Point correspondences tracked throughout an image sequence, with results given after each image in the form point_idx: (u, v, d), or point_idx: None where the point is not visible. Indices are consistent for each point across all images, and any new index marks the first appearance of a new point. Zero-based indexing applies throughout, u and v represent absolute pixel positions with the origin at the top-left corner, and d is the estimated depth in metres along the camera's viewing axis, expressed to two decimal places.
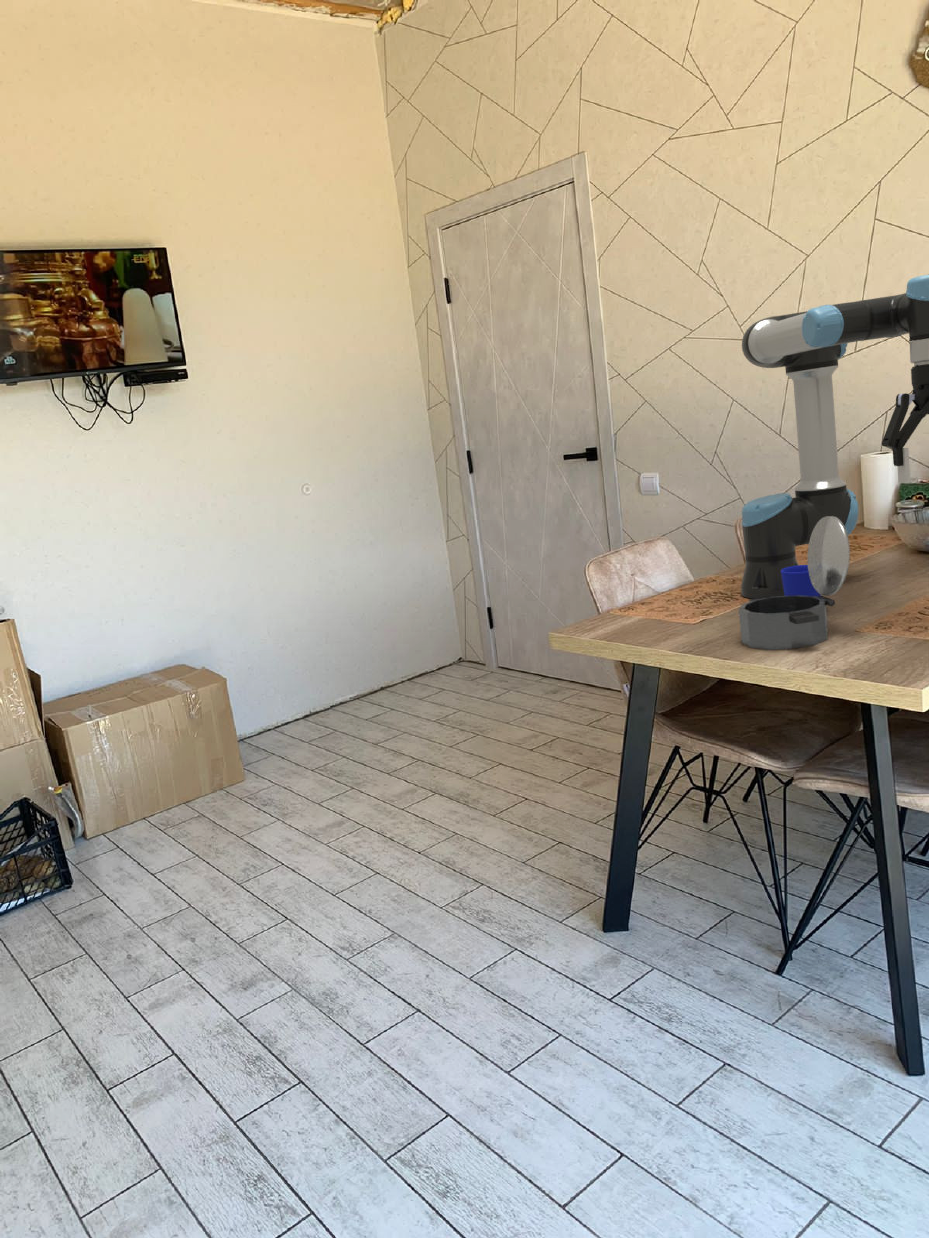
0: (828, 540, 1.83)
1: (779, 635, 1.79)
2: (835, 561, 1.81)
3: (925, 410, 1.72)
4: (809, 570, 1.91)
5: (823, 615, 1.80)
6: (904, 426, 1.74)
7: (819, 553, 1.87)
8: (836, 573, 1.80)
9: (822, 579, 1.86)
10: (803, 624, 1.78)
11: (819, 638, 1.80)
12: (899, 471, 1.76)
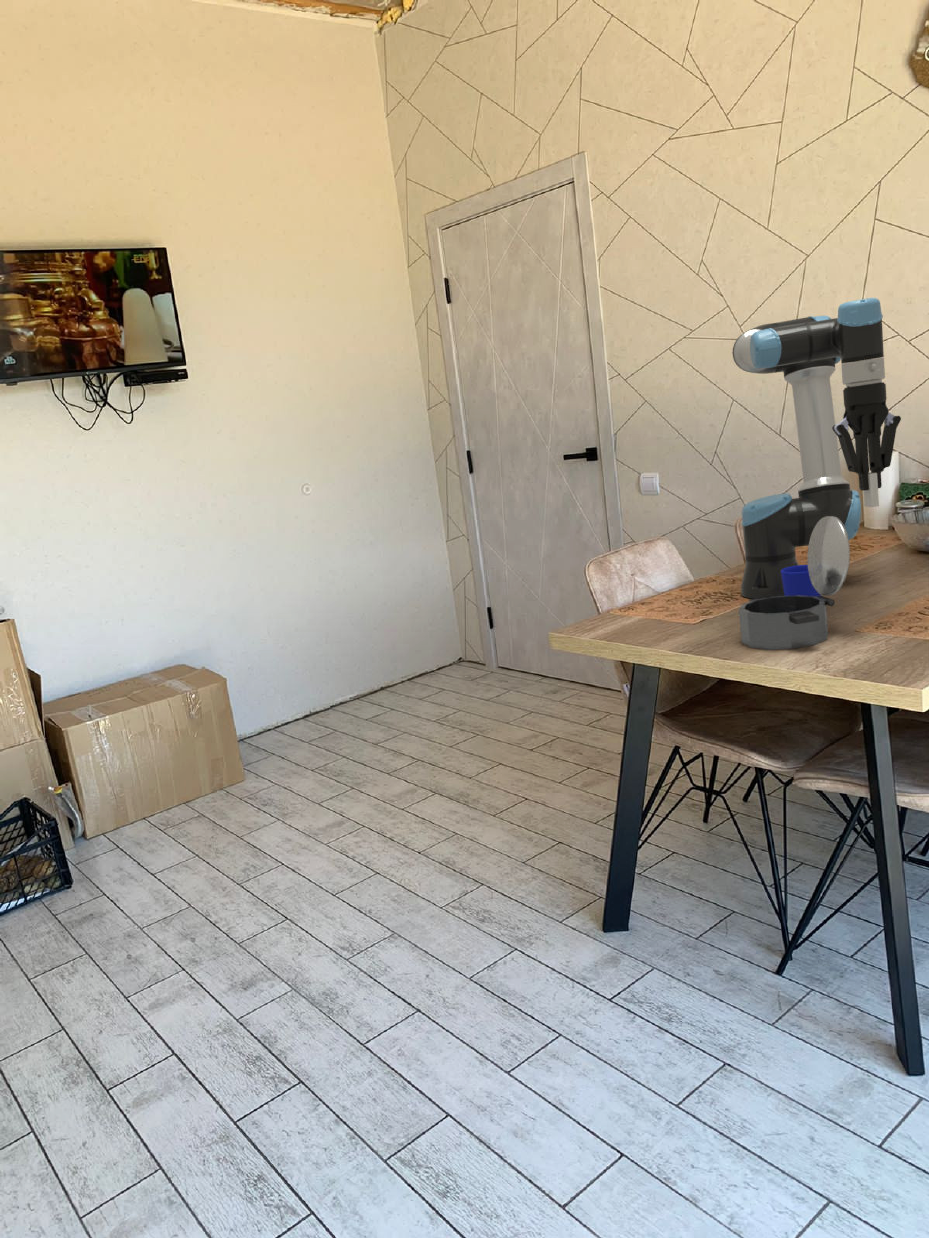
0: (828, 540, 1.83)
1: (779, 635, 1.79)
2: (835, 561, 1.81)
3: (865, 432, 1.79)
4: (809, 570, 1.91)
5: (823, 615, 1.80)
6: (857, 452, 1.82)
7: (819, 553, 1.87)
8: (836, 573, 1.80)
9: (822, 579, 1.86)
10: (803, 624, 1.78)
11: (819, 638, 1.80)
12: (865, 495, 1.83)
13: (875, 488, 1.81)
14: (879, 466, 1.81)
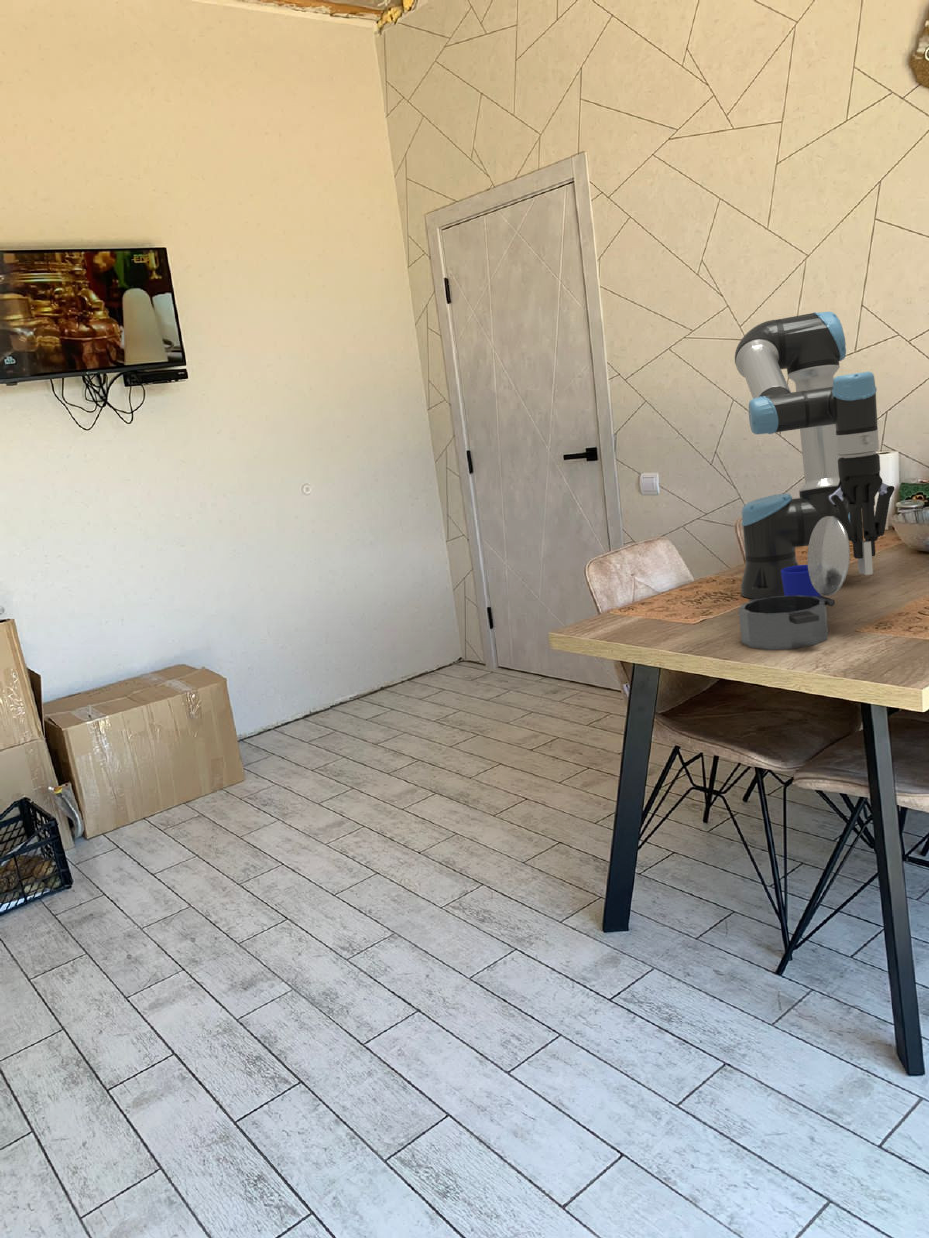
0: (828, 540, 1.83)
1: (779, 635, 1.79)
2: (835, 561, 1.81)
3: (859, 502, 1.81)
4: (809, 570, 1.91)
5: (823, 615, 1.80)
6: (851, 520, 1.84)
7: (819, 553, 1.87)
8: (836, 573, 1.80)
9: (822, 579, 1.86)
10: (803, 624, 1.78)
11: (819, 638, 1.80)
12: (859, 562, 1.86)
13: (869, 556, 1.84)
14: (873, 535, 1.83)
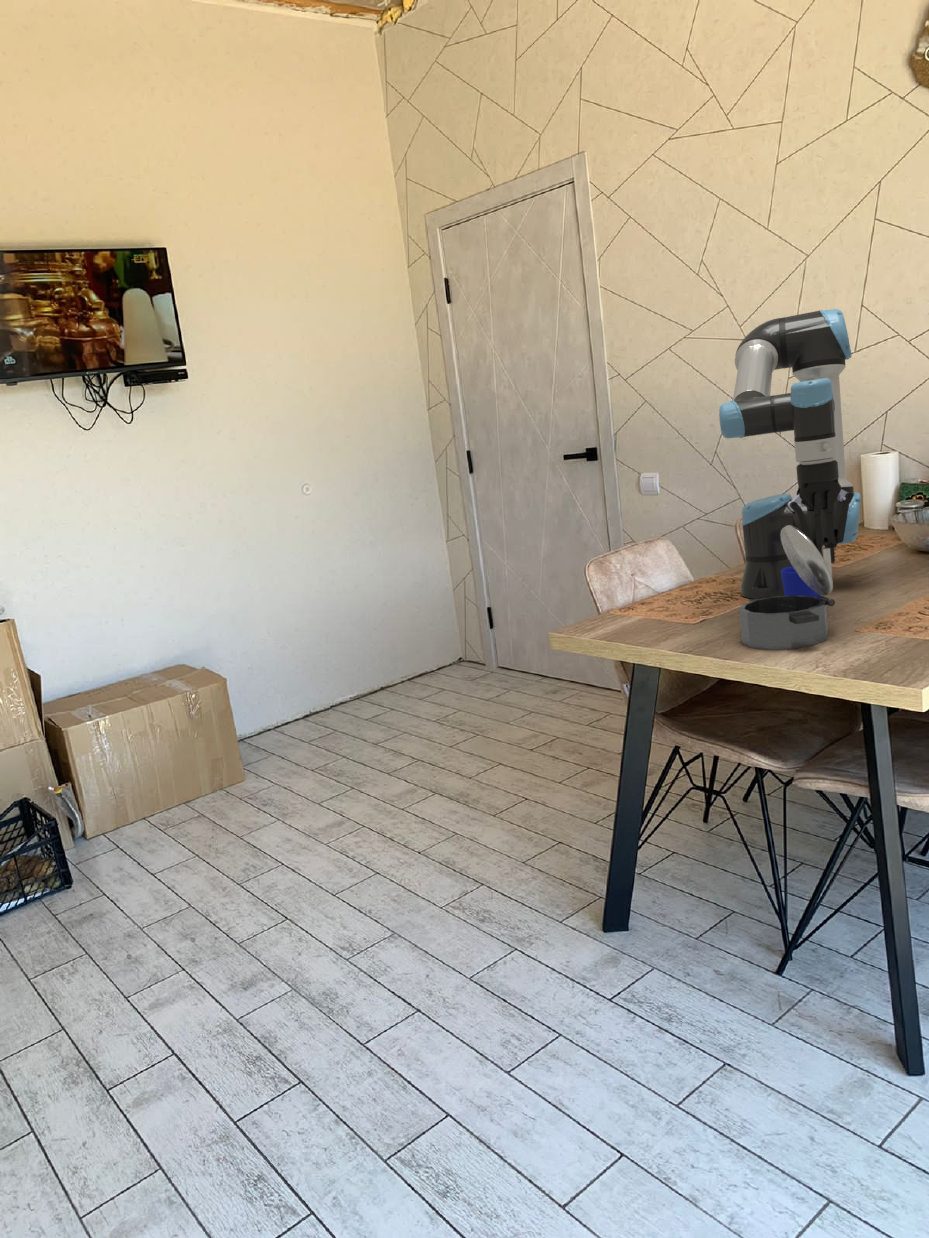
0: (798, 548, 1.83)
1: (779, 635, 1.79)
2: (815, 566, 1.80)
3: (817, 509, 1.81)
4: (798, 573, 1.91)
5: (823, 615, 1.80)
6: (810, 527, 1.84)
7: (797, 559, 1.87)
8: (822, 577, 1.80)
9: (813, 581, 1.86)
10: (803, 624, 1.78)
11: (819, 638, 1.80)
12: None
13: (828, 563, 1.83)
14: (832, 542, 1.83)
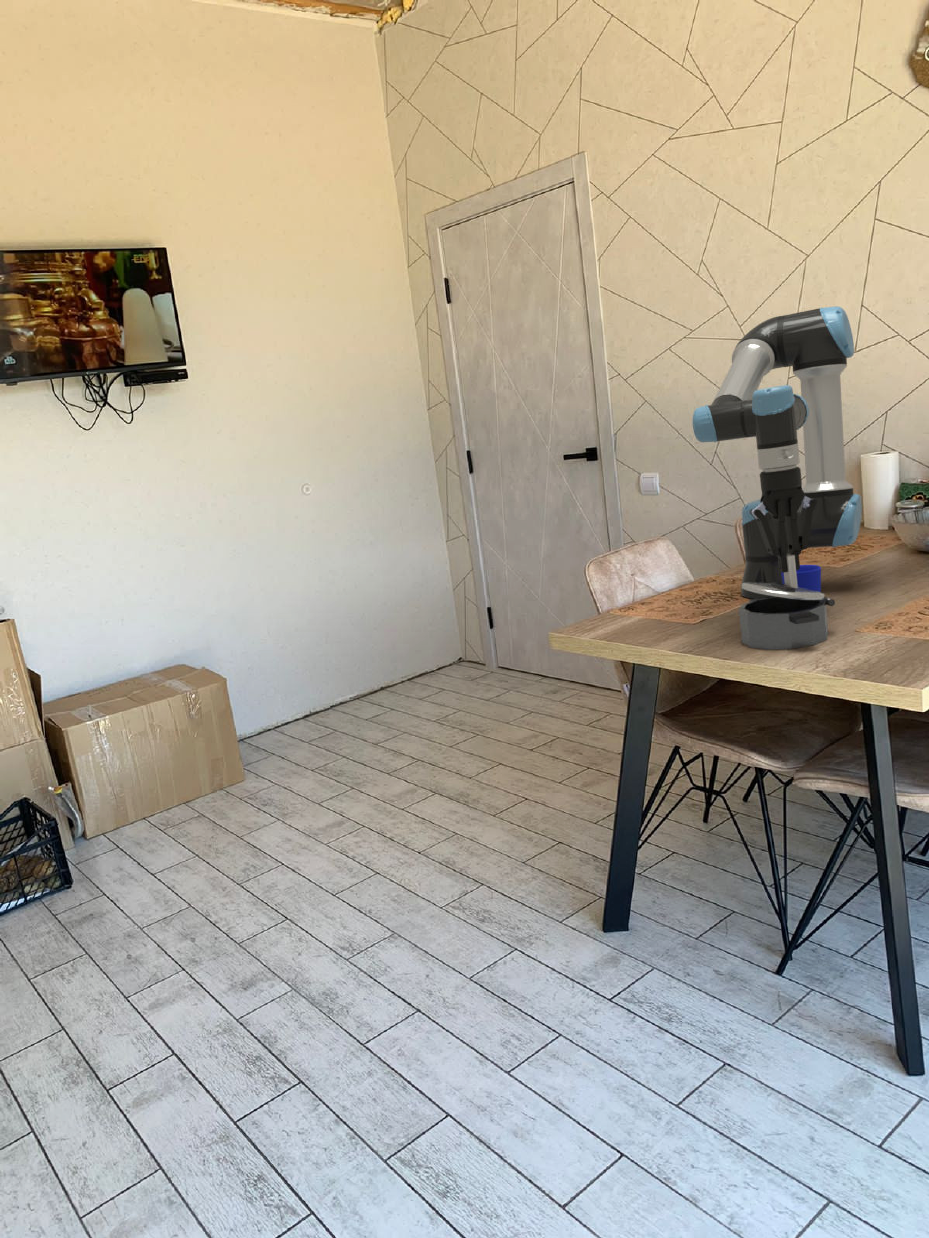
0: None
1: (779, 635, 1.79)
2: None
3: (781, 516, 1.80)
4: None
5: (823, 615, 1.80)
6: (775, 534, 1.83)
7: None
8: None
9: None
10: (803, 624, 1.78)
11: (819, 638, 1.80)
12: (785, 576, 1.85)
13: (793, 570, 1.83)
14: (797, 549, 1.82)
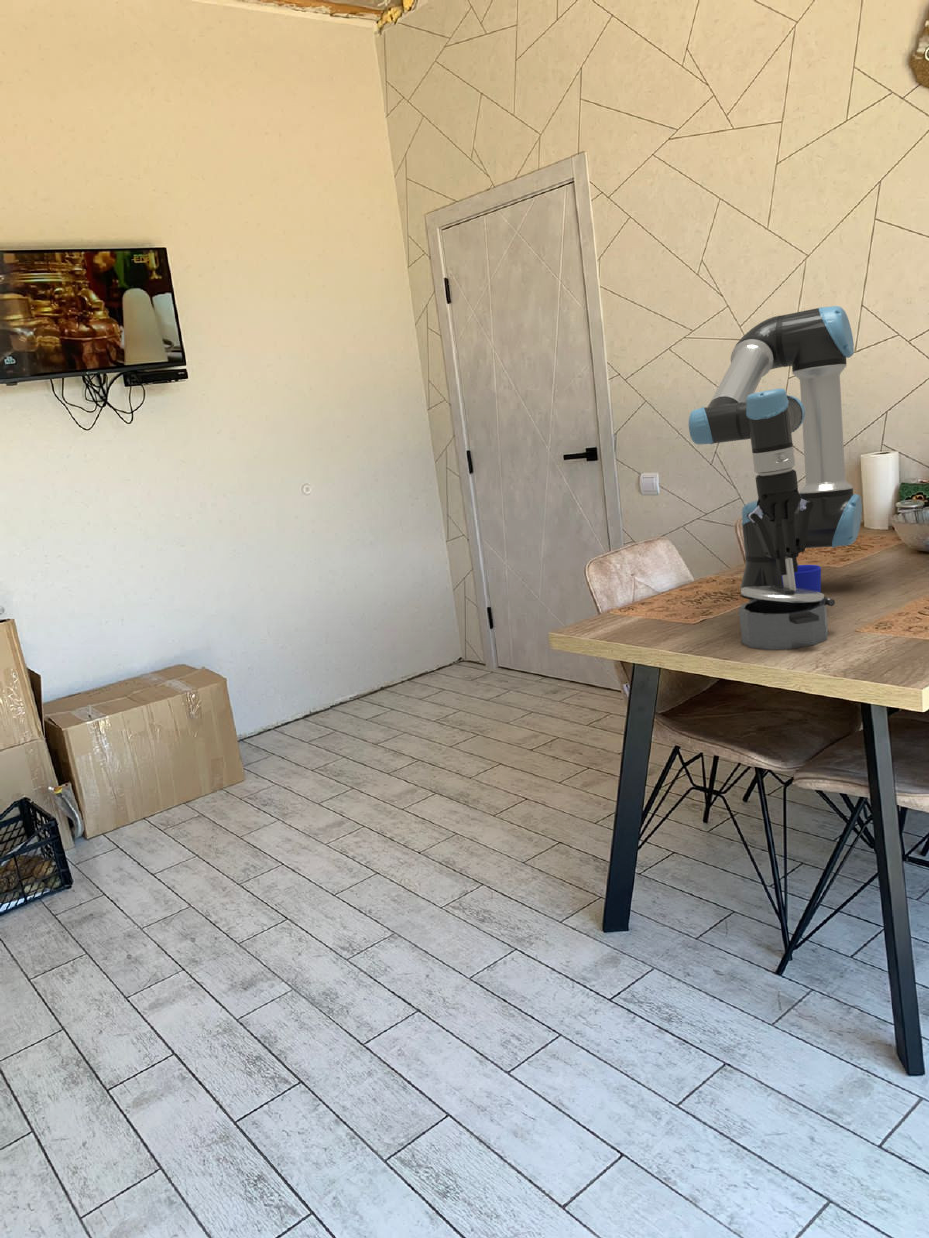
0: None
1: (779, 635, 1.79)
2: None
3: (778, 519, 1.80)
4: None
5: (823, 615, 1.80)
6: (773, 537, 1.83)
7: None
8: None
9: None
10: (803, 624, 1.78)
11: (819, 638, 1.80)
12: (784, 578, 1.85)
13: (791, 573, 1.83)
14: (794, 551, 1.82)
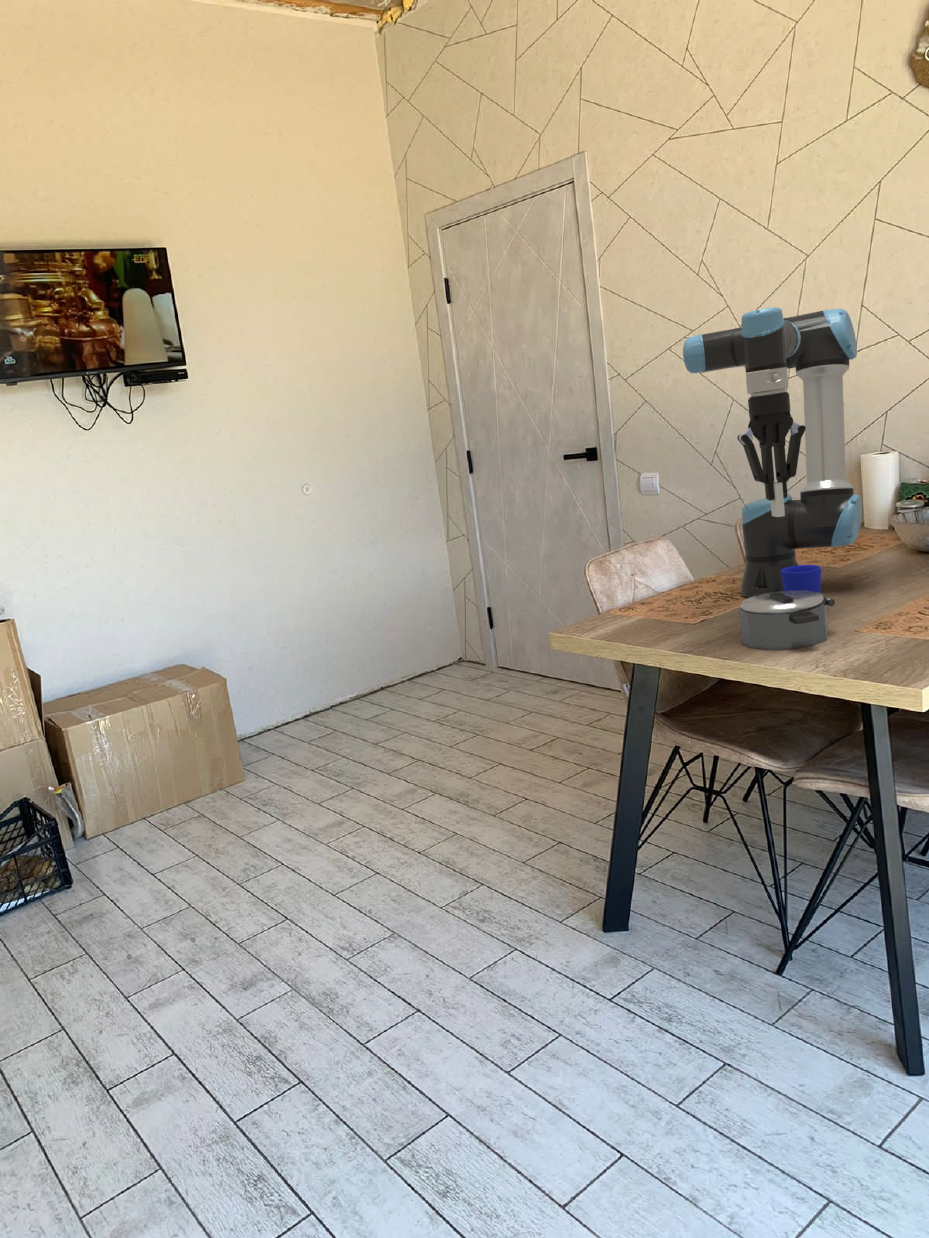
0: None
1: (779, 635, 1.79)
2: None
3: (769, 442, 1.78)
4: None
5: (823, 615, 1.80)
6: (762, 461, 1.81)
7: None
8: None
9: None
10: (803, 624, 1.78)
11: (819, 638, 1.80)
12: (772, 504, 1.83)
13: (781, 498, 1.81)
14: (784, 476, 1.80)
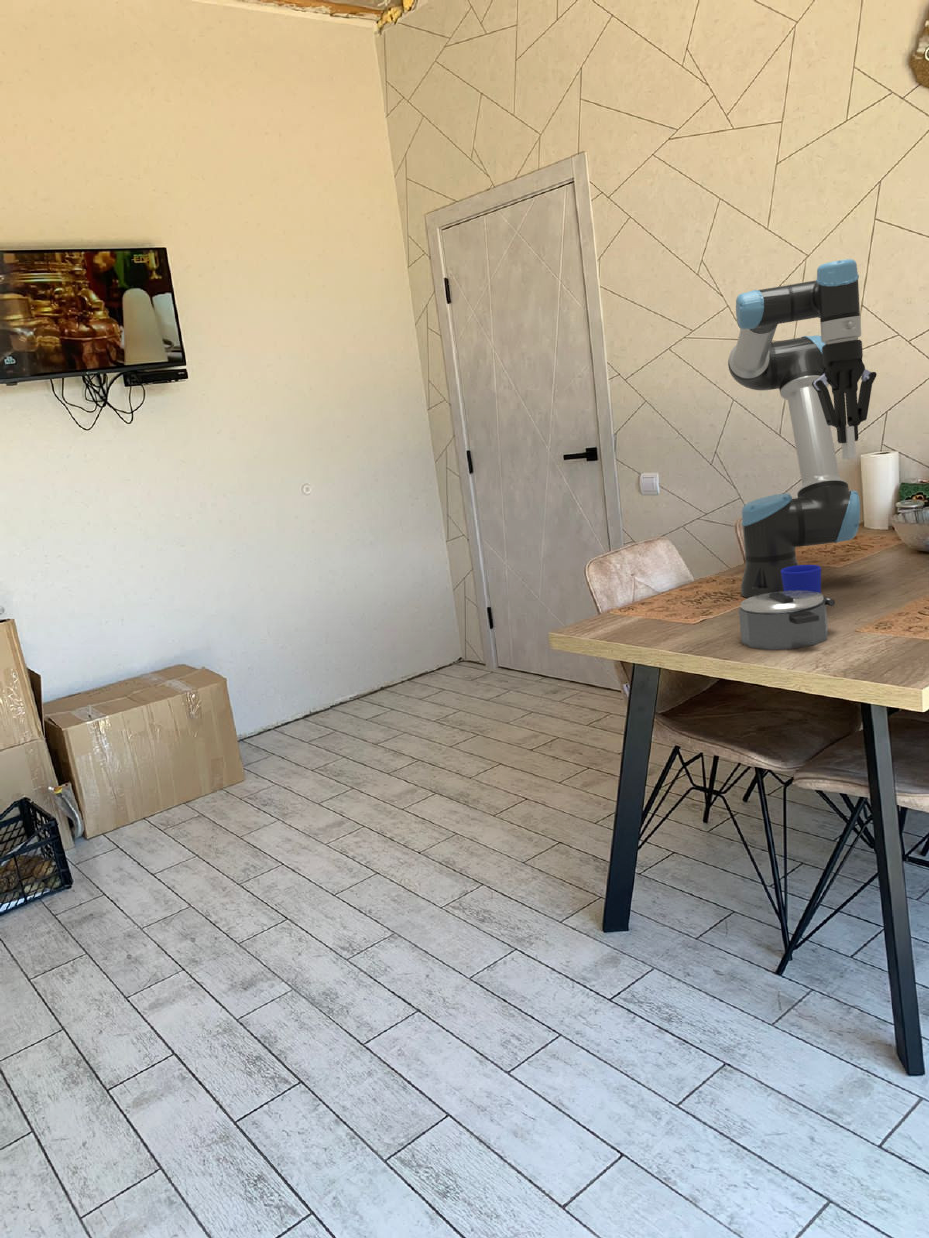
0: None
1: (779, 635, 1.79)
2: None
3: (842, 387, 1.89)
4: None
5: (823, 615, 1.80)
6: (835, 406, 1.92)
7: None
8: None
9: None
10: (803, 624, 1.78)
11: (819, 638, 1.80)
12: (843, 447, 1.94)
13: (852, 441, 1.92)
14: (856, 420, 1.91)
